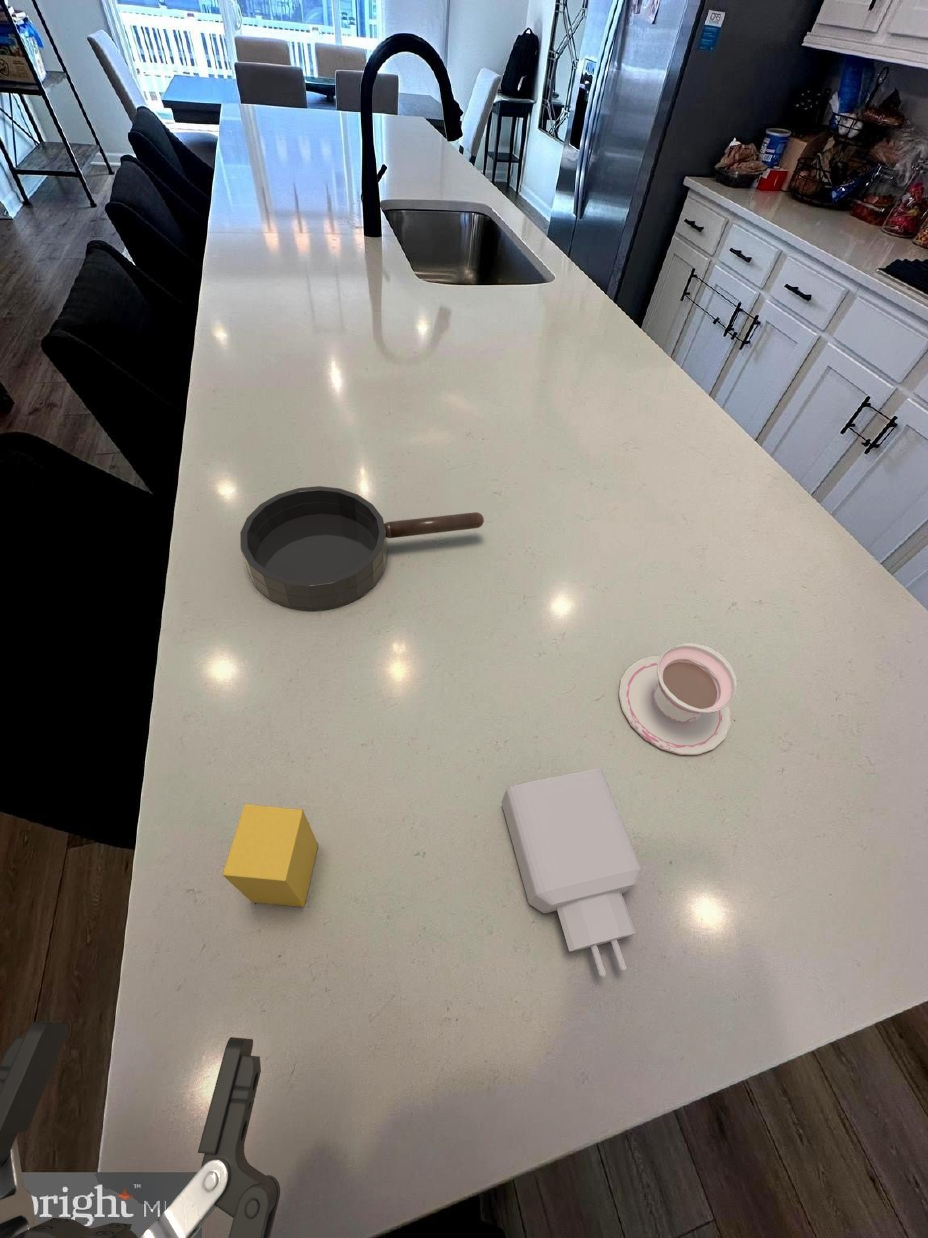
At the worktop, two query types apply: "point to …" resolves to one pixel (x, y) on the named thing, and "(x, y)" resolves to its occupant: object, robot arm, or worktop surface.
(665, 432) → the worktop surface
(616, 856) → the charger
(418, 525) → the pan handle
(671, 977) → the worktop surface
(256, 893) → the cheese
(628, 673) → the teacup
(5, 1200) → the robot arm
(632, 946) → the worktop surface
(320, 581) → the pan
